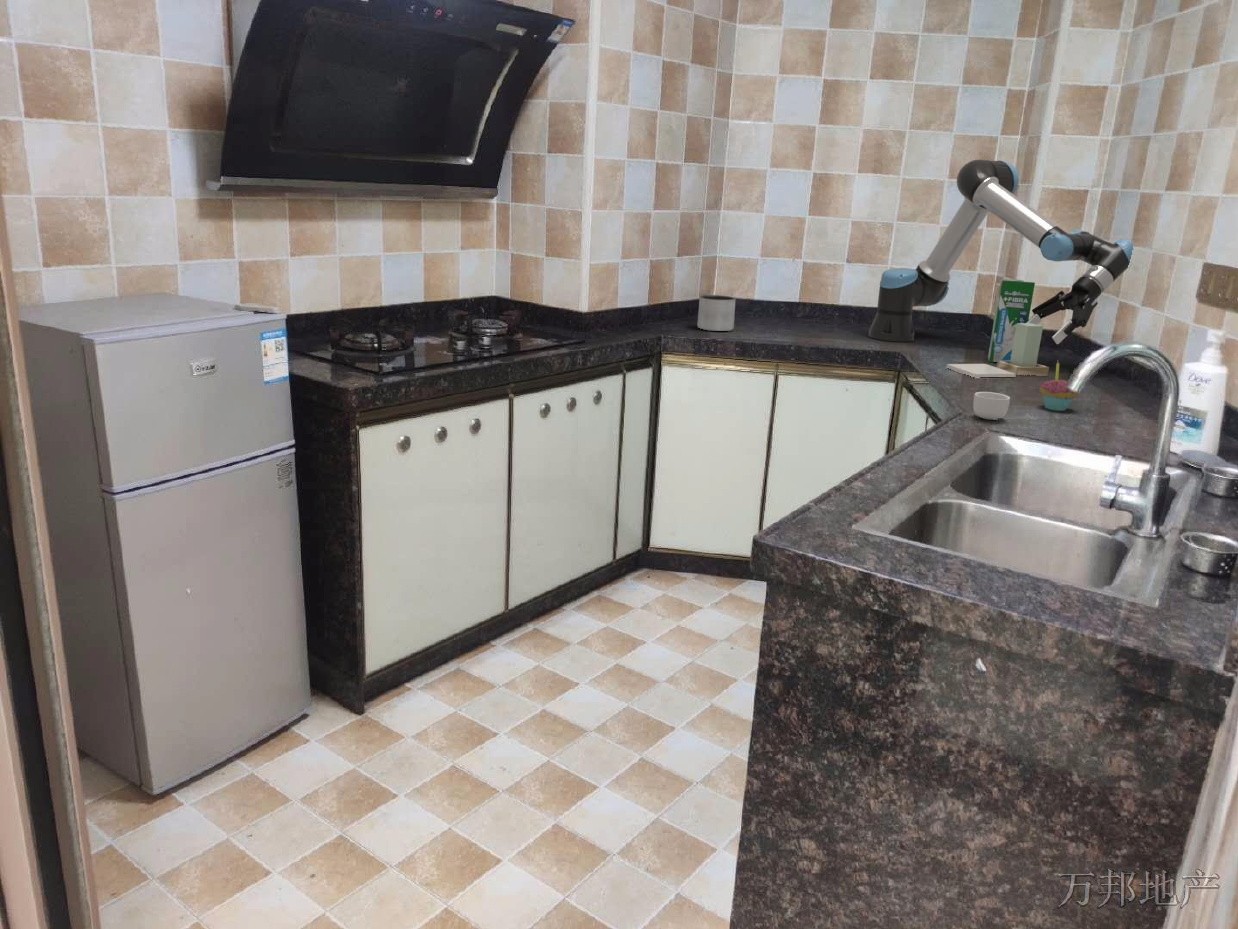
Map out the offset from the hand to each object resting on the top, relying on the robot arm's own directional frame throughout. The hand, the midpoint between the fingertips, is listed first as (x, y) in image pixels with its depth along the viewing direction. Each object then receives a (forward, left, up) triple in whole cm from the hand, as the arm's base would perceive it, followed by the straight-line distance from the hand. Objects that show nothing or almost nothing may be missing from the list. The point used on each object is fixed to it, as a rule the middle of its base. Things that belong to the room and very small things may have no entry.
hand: (1038, 336), depth 268 cm
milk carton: (-16, +2, -11) cm, 19 cm away
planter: (-75, -71, -11) cm, 104 cm away
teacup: (+47, -49, -11) cm, 69 cm away
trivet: (0, -18, -10) cm, 20 cm away
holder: (0, -4, -10) cm, 11 cm away
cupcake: (+41, -26, -11) cm, 49 cm away
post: (0, -4, -10) cm, 11 cm away
